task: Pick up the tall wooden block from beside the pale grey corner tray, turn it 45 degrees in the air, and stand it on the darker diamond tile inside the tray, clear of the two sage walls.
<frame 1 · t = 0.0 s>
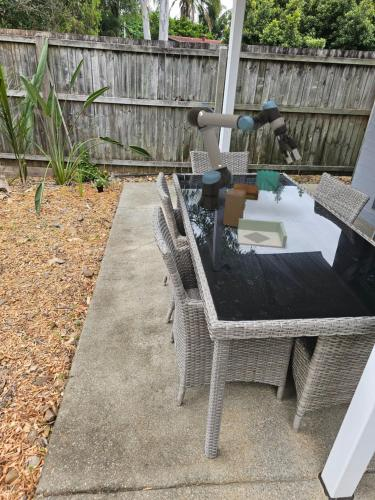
hand: (294, 161, 189), 36 cm above the table, tool tilted 35°, fingers open, 13 cm apart
diary: (245, 195, 249), on the table
wooden block: (232, 224, 194), on the table
corner tray: (260, 238, 177), on the table
basket: (266, 188, 268), on the table
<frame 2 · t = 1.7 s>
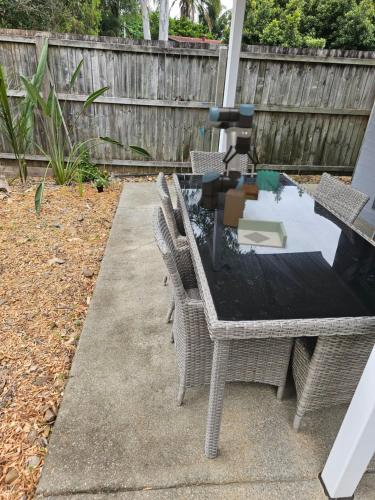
hand: (239, 176, 182), 29 cm above the table, tool pointing down, fingers open, 13 cm apart
nothing on the table moved.
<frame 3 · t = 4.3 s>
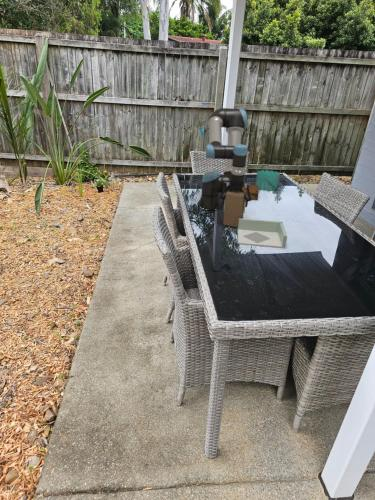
hand: (234, 211, 191), 8 cm above the table, tool pointing down, fingers closed on wooden block, 11 cm apart
wooden block: (232, 224, 194), on the table, touching gripper
everything else where it was.
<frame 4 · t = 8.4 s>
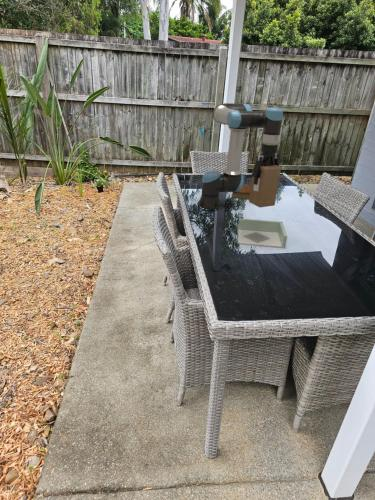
hand: (263, 189, 164), 28 cm above the table, tool pointing down, fingers closed on wooden block, 11 cm apart
wooden block: (261, 204, 167), point 19 cm above the table, touching gripper
everything else where it was.
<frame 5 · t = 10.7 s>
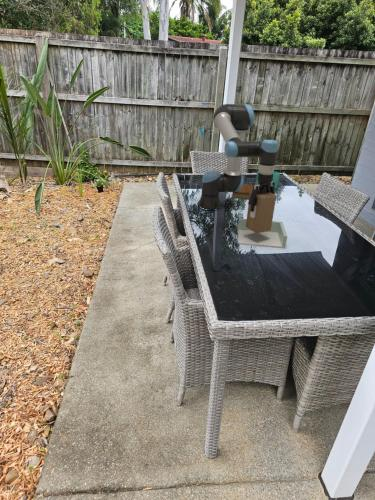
hand: (259, 215, 170), 14 cm above the table, tool pointing down, fingers closed on wooden block, 11 cm apart
wooden block: (257, 229, 174), point 5 cm above the table, touching gripper
everything else where it was.
when the fingers open (10 cm above the table, at t = 12.5 s): wooden block drops 1 cm, resting on corner tray.
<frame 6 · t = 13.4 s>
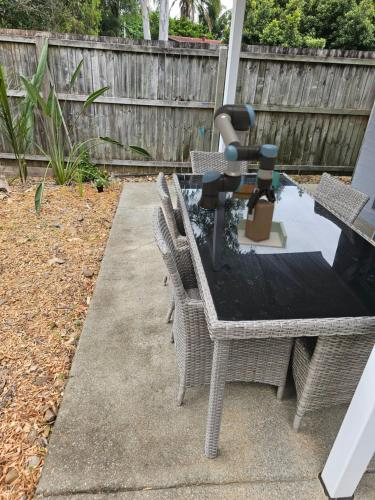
hand: (259, 217, 171), 12 cm above the table, tool pointing down, fingers open, 13 cm apart
wooden block: (256, 237, 176), point 1 cm above the table, touching corner tray
everything else where it was.
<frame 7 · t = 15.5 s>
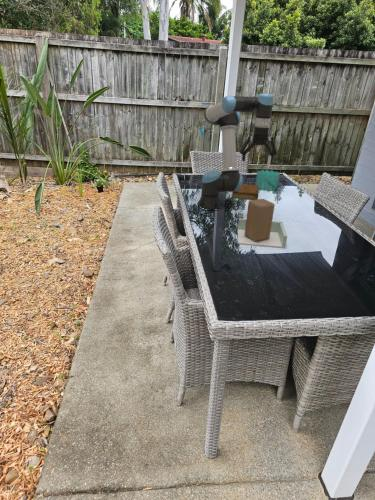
hand: (256, 167, 180), 34 cm above the table, tool pointing down, fingers open, 13 cm apart
nothing on the table moved.
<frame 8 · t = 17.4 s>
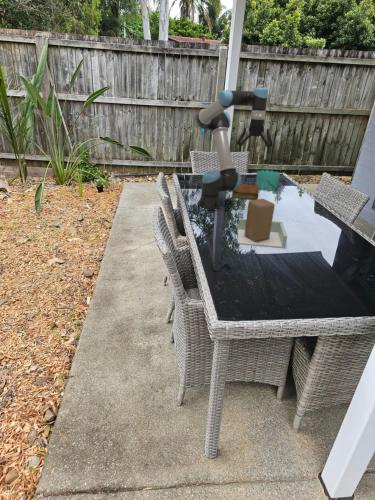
hand: (252, 158, 189), 37 cm above the table, tool pointing down, fingers open, 13 cm apart
nothing on the table moved.
at the end: wooden block inside the target area on the corner tray (2.1 cm from its centre), point 0.7 cm above the corner tray's base; wooden block tilted 0°; the gripper is holding nothing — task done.
